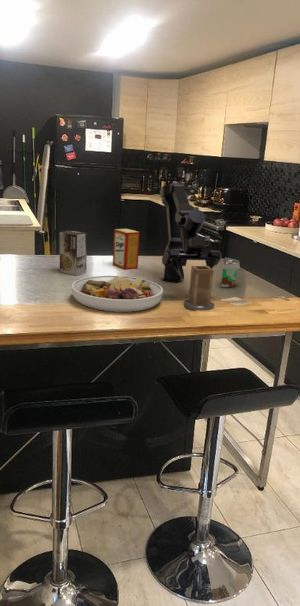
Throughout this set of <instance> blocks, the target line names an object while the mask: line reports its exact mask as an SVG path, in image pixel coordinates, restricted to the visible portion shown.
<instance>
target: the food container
mask: <svg viewBox="0 0 300 606" xmlns="http://www.w3.org/2000/svg"><path fill="white" fill-rule="evenodd" d="M222 264H223V265H222V273H221V283H220V288H224V289H225V288H226V289H228V288H233V287H235V284H236V280H237V275H238V269H240V268H241V267H240V261H239V260H237V259H234V258H230V257H224V262H223V263H222Z"/></svg>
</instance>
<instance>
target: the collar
mask: <svg viewBox="0 0 300 606" xmlns="http://www.w3.org/2000/svg"><path fill="white" fill-rule="evenodd" d="M213 277H214V269H213V268H212V269H211V268H210V267H209V266H206V265H191V268H190V281H189V291H188V300H189V302H190V303H191V304H192V305H193V306H210V302H211V301H212V300H211V299H212V289H213V279H214V278H213Z"/></svg>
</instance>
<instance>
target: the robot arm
mask: <svg viewBox="0 0 300 606" xmlns="http://www.w3.org/2000/svg"><path fill="white" fill-rule="evenodd" d="M159 197H160V199H161V203H162V205H163V206H164V207H165V208H166V218H167V232H168V243H167V246H165V250H164V253H163V256H162V257H161V263H162V265H163V266H164V273H163V278H162V281H165V282H172V283H179V282H181V281H183V280H185V273H184V269H183V267H186V265H187V261H204V262H205V266H209V267H210V268H211V269H213V268H214V267H215V266H217V265H218V264H219V262H220V261H221V259H222V257H223V256H222V252H221V251H220V250H209V251H208V252H207V254H203V251H204V248H206V247H208V246H210V245H211V237H210V235H204V236H199V233H198V232H200V231H201V229H202V227H203V225H204V223H205V222H206V217H207V216H206V214H205V213H204V212H203V211H202V210H200V207H199V206H196V207H195V206H194V205H192V204H190V202H189V198H188V197H187V194H186V191H185V184H183V183H182V182H171V183H169V184H165V185H164V184H163V186H162V187H160V190H159ZM180 226H181V228H180Z"/></svg>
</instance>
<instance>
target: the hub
mask: <svg viewBox="0 0 300 606" xmlns="http://www.w3.org/2000/svg"><path fill="white" fill-rule="evenodd" d="M183 308H185V309H186V310H190V311H194V312H197V311H210V310H213V309H214V308H215V303H214V302H212V301H210V306H193V305H192V304H191V303H190V302H189V299H185V300H184V301H183Z"/></svg>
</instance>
